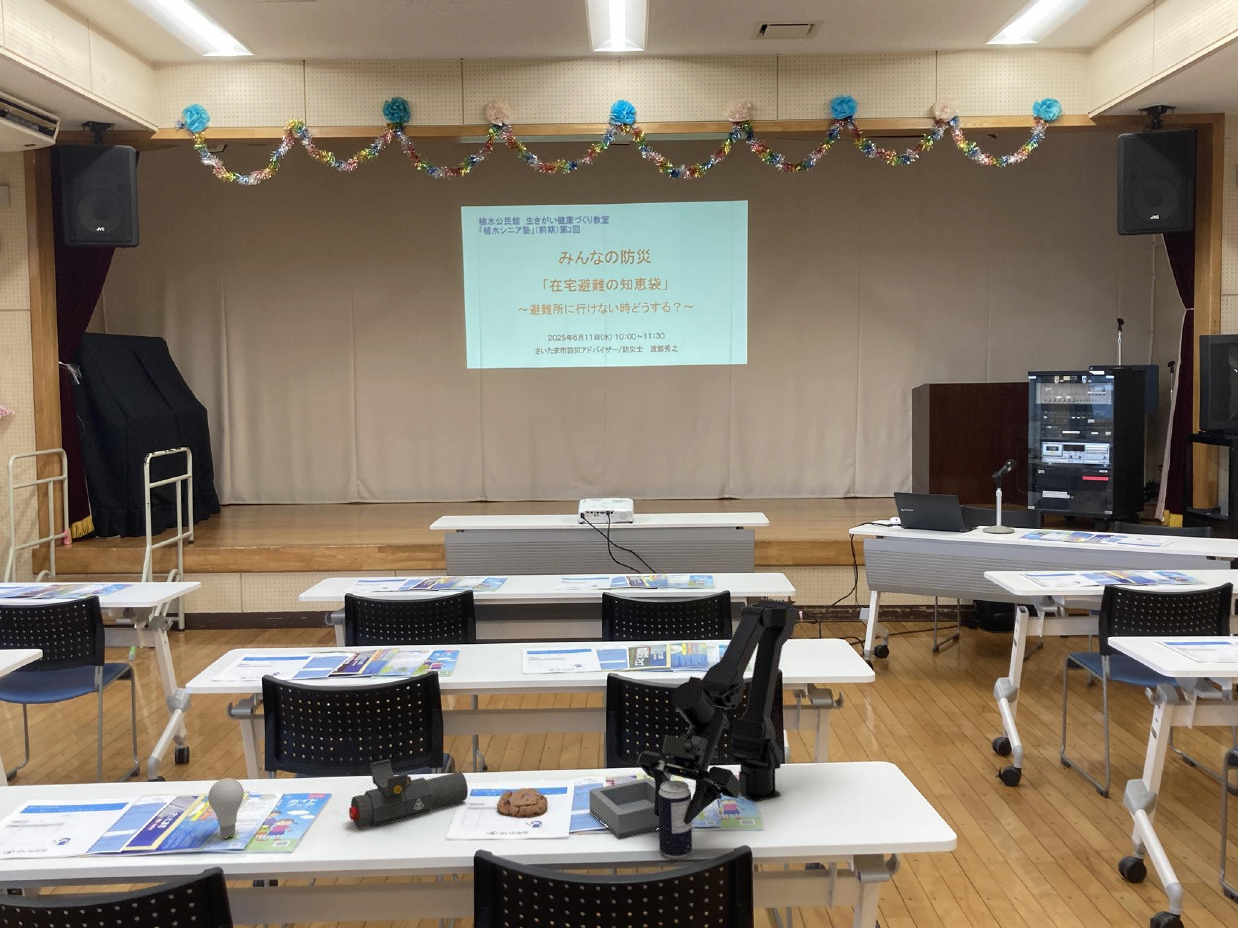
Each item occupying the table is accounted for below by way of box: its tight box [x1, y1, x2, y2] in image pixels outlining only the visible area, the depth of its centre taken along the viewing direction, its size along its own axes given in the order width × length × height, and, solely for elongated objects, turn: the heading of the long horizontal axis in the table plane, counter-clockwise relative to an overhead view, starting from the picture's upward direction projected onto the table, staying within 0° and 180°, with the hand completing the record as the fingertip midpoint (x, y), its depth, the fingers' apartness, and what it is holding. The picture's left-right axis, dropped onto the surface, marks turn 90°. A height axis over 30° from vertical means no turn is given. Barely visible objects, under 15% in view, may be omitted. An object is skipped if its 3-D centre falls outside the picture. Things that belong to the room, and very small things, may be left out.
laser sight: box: [348, 758, 469, 829], centre depth 187 cm, size 10×22×10 cm, turn 124°
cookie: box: [496, 787, 549, 819], centre depth 189 cm, size 10×11×3 cm
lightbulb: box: [207, 777, 245, 838], centre depth 178 cm, size 6×6×11 cm
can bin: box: [589, 777, 659, 840], centre depth 183 cm, size 13×13×4 cm
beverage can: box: [658, 780, 693, 859], centre depth 168 cm, size 6×6×12 cm
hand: (670, 818), depth 167 cm, fingers closed on beverage can, 6 cm apart
